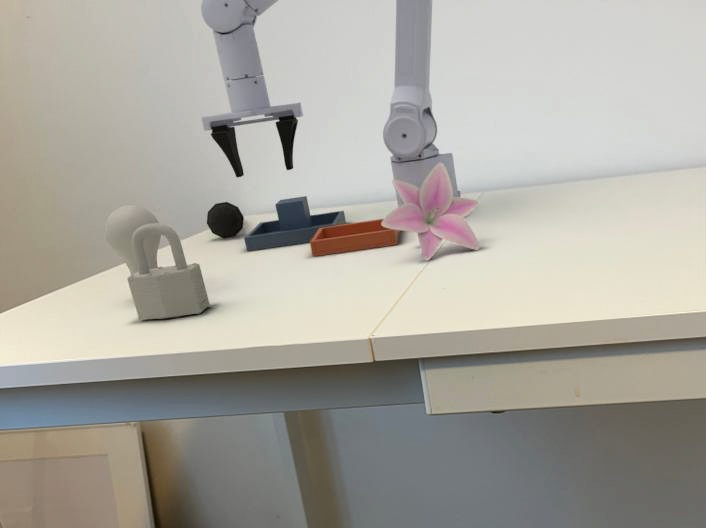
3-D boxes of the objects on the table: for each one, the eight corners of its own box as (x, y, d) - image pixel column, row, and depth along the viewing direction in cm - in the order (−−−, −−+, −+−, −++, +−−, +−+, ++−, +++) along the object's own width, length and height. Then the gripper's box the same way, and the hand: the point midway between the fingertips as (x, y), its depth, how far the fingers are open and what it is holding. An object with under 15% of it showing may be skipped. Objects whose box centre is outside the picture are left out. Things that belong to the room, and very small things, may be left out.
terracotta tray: (399, 230, 114) (397, 216, 114) (396, 244, 106) (394, 229, 105) (322, 241, 115) (319, 227, 114) (312, 256, 106) (309, 241, 105)
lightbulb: (134, 293, 100) (108, 205, 96) (183, 285, 100) (159, 197, 97) (118, 307, 95) (90, 214, 91) (170, 299, 95) (144, 206, 91)
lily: (373, 274, 96) (383, 207, 90) (382, 218, 105) (391, 153, 98) (472, 290, 98) (488, 225, 91) (473, 233, 106) (488, 170, 100)
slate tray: (346, 223, 126) (343, 210, 125) (338, 238, 115) (335, 224, 115) (262, 235, 126) (260, 222, 125) (247, 251, 116) (243, 237, 115)
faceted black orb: (230, 237, 145) (217, 245, 125) (213, 209, 143) (197, 212, 124) (257, 223, 145) (248, 229, 126) (241, 194, 144) (229, 195, 124)
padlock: (136, 323, 87) (109, 231, 83) (152, 311, 90) (127, 223, 87) (199, 315, 86) (174, 223, 82) (212, 304, 90) (189, 215, 86)
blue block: (313, 228, 122) (306, 196, 121) (309, 234, 119) (302, 200, 117) (287, 232, 122) (280, 199, 121) (282, 238, 119) (275, 204, 117)
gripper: (187, 86, 114) (211, 183, 118) (288, 71, 113) (308, 169, 118) (200, 85, 120) (223, 176, 125) (296, 71, 120) (315, 163, 125)
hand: (265, 172), depth 122 cm, fingers open, 7 cm apart
